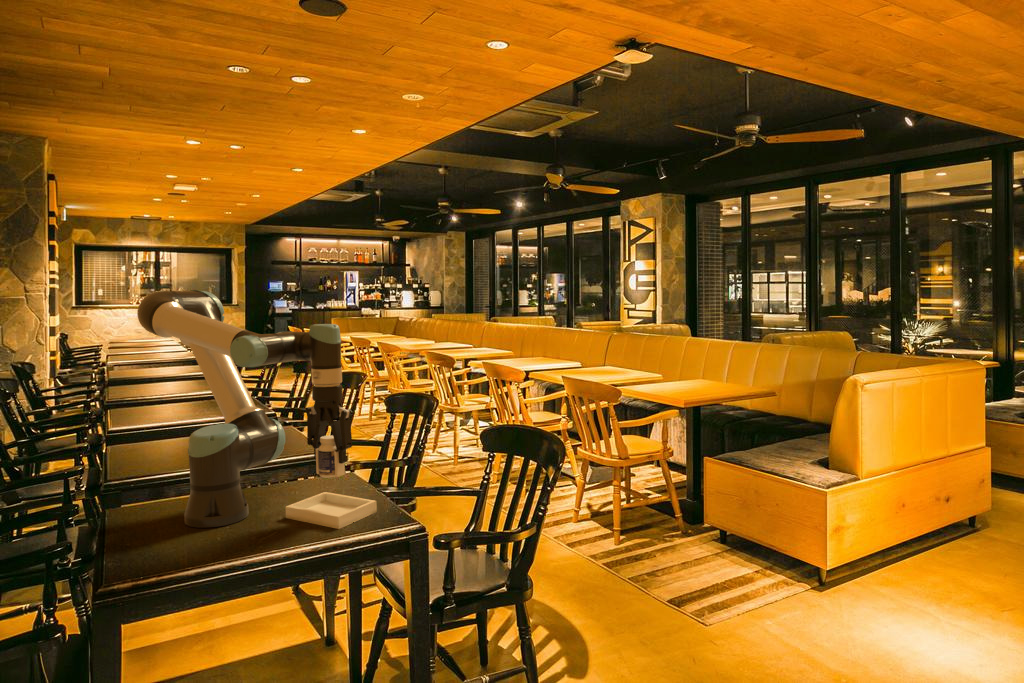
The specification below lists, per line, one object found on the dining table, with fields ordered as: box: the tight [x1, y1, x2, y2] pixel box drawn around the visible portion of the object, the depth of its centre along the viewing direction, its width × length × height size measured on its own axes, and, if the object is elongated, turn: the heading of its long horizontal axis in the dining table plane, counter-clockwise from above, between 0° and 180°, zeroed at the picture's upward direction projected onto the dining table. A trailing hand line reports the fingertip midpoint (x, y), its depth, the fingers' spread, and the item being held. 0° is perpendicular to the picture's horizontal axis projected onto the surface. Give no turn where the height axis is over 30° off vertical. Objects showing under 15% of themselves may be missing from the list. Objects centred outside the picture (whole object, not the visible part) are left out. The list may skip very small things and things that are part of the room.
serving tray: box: [285, 491, 378, 530], centre depth 175 cm, size 18×14×3 cm
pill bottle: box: [318, 434, 337, 479], centre depth 174 cm, size 6×6×10 cm
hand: (330, 473), depth 175 cm, fingers closed on pill bottle, 6 cm apart
